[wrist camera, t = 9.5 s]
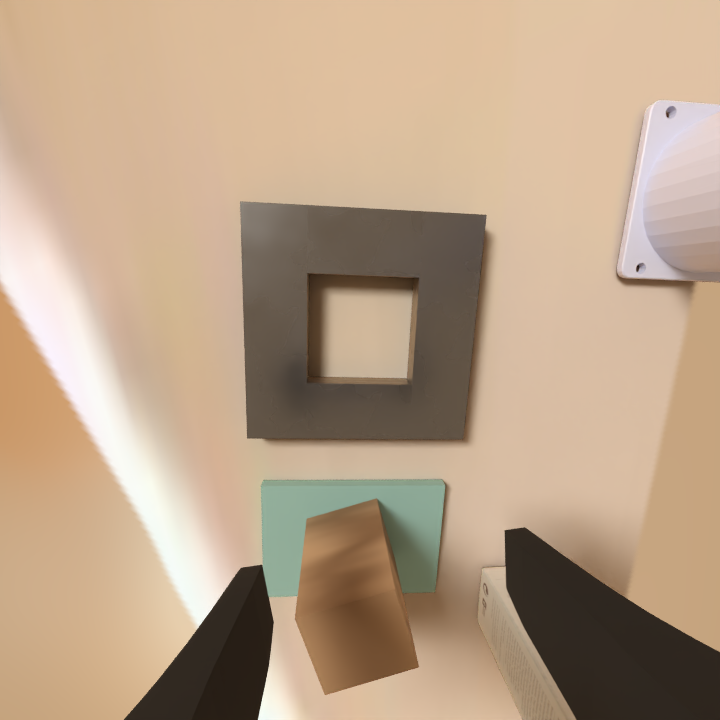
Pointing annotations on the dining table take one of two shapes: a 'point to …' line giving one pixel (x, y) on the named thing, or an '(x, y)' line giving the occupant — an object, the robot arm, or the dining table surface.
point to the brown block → (352, 599)
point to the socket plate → (358, 258)
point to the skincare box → (517, 652)
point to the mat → (315, 497)
